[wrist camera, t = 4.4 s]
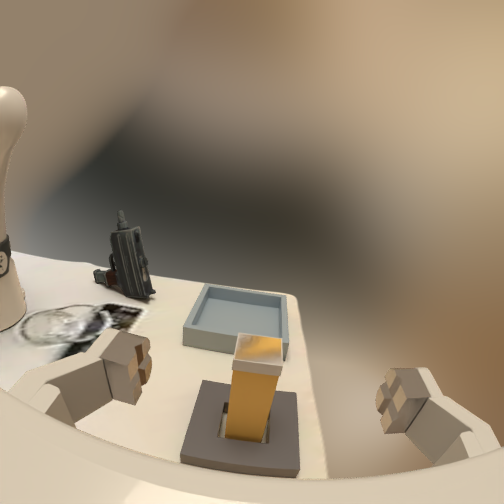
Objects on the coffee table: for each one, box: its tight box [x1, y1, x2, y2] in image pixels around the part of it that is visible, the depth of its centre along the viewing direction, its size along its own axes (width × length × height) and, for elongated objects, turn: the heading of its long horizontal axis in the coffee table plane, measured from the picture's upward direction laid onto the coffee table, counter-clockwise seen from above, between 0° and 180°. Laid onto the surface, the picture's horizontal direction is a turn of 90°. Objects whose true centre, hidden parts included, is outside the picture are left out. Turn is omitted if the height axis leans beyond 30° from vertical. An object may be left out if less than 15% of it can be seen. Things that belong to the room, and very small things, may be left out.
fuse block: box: [180, 380, 300, 478], centre depth 30 cm, size 12×12×2 cm
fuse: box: [225, 333, 283, 443], centre depth 28 cm, size 4×4×13 cm
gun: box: [93, 210, 156, 298], centre depth 55 cm, size 3×17×15 cm
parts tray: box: [183, 284, 289, 361], centre depth 51 cm, size 16×16×4 cm
